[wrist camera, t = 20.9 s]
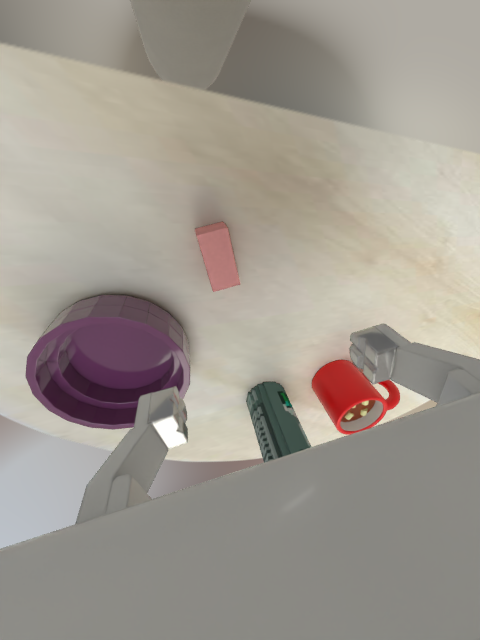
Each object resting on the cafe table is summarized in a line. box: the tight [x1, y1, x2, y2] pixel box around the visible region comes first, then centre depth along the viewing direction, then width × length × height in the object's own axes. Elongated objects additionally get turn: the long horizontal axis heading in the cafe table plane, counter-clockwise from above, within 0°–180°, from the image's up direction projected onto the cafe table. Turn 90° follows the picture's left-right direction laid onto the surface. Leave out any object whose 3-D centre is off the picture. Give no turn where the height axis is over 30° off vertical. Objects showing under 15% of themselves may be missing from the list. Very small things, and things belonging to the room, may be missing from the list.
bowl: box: [26, 295, 190, 429], centre depth 29 cm, size 16×16×6 cm
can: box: [246, 382, 311, 462], centre depth 35 cm, size 6×6×15 cm
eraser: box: [195, 221, 240, 292], centre depth 26 cm, size 6×3×3 cm, turn 12°
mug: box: [312, 360, 400, 435], centre depth 39 cm, size 8×12×8 cm, turn 97°
